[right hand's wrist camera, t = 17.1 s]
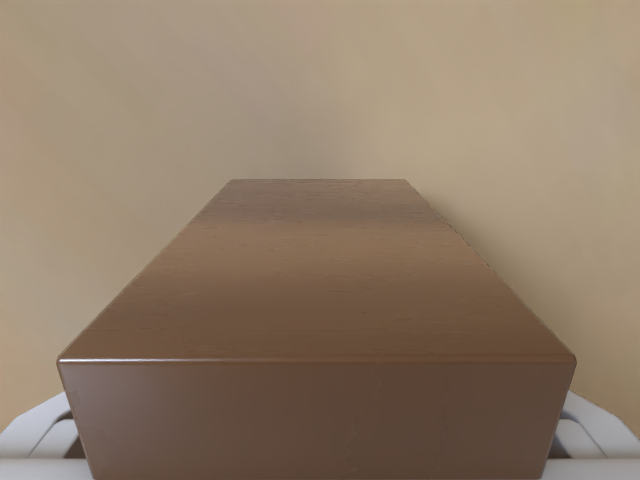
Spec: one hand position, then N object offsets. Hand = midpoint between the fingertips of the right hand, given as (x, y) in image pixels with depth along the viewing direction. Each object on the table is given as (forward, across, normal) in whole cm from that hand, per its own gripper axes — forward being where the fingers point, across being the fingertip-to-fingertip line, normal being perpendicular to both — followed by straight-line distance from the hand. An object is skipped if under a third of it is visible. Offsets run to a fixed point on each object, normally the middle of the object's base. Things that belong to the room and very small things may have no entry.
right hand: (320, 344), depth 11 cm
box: (+4, 0, -7) cm, 8 cm away
